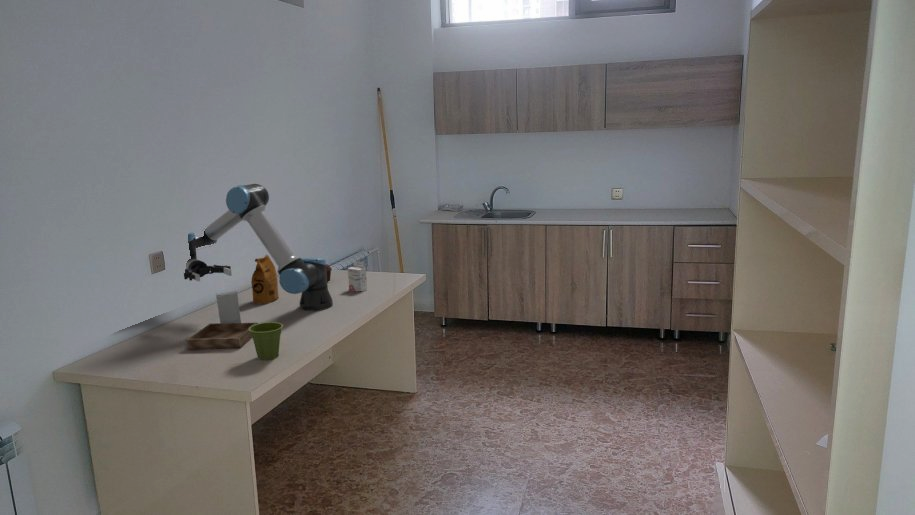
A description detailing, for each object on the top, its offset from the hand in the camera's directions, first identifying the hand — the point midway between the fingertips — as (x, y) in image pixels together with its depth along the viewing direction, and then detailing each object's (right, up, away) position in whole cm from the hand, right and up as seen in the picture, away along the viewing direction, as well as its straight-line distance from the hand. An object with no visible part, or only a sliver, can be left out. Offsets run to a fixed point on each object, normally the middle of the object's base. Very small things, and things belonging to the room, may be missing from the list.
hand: (215, 275), depth 259 cm
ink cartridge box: (+53, -9, +52) cm, 75 cm away
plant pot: (+36, -28, -40) cm, 61 cm away
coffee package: (+10, -14, +37) cm, 41 cm away
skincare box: (+8, -22, -3) cm, 23 cm away
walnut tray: (+12, -25, -21) cm, 35 cm away
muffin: (+29, -6, +74) cm, 80 cm away
